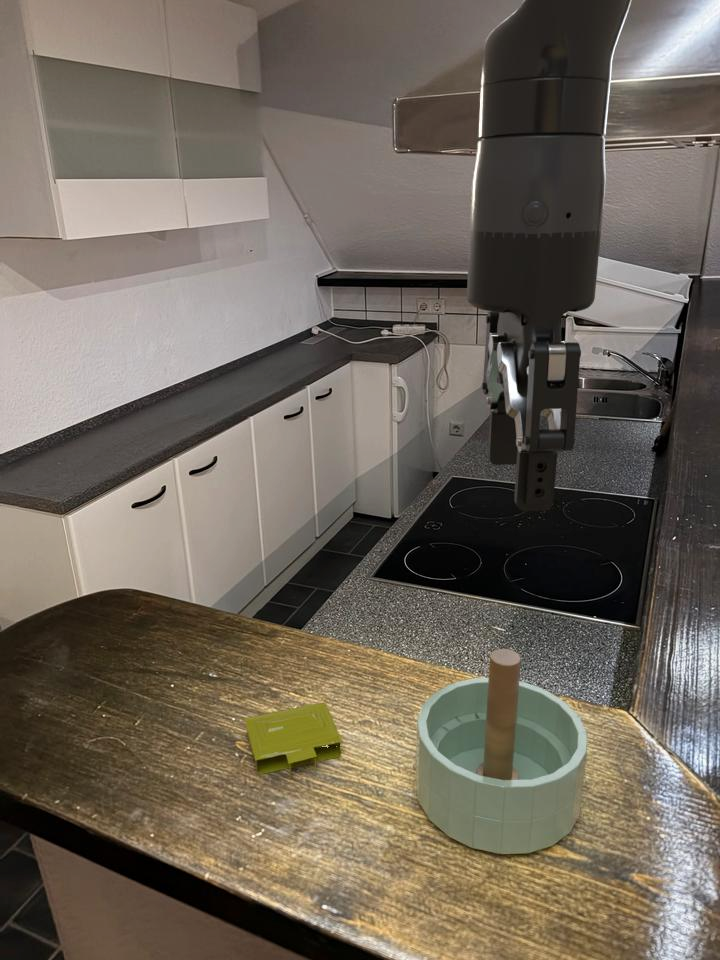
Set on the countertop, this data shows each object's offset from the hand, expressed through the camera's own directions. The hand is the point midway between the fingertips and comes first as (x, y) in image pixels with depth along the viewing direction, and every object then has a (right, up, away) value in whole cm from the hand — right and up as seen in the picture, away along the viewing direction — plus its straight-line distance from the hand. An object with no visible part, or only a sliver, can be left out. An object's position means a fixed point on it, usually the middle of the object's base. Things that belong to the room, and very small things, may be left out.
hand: (517, 484), depth 50 cm
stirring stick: (0, -24, +9) cm, 25 cm away
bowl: (0, -24, +9) cm, 26 cm away
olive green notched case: (-16, -23, +14) cm, 31 cm away
